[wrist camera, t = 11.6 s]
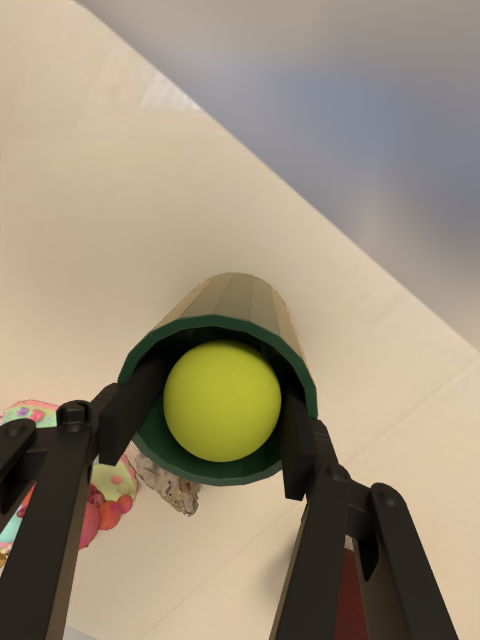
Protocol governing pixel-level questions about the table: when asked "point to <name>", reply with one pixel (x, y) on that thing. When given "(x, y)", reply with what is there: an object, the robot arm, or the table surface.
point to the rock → (168, 485)
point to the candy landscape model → (104, 493)
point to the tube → (212, 324)
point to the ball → (222, 400)
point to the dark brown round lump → (350, 603)
